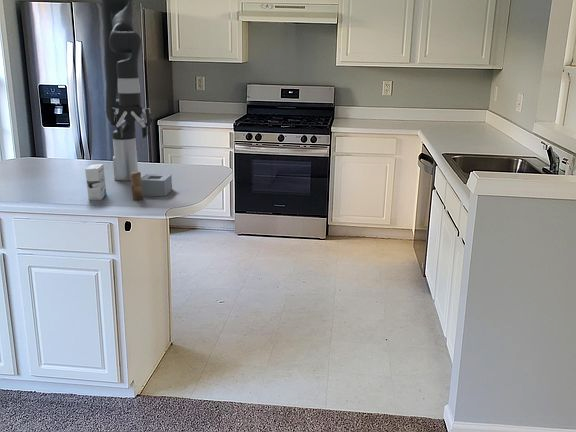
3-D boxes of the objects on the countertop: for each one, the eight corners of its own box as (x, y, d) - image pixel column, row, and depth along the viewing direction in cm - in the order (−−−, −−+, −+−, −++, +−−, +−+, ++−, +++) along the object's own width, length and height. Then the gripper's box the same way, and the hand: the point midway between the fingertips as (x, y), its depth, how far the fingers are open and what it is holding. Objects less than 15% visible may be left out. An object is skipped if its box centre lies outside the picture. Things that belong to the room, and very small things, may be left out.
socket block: (139, 195, 214) (138, 180, 212) (147, 188, 223) (146, 174, 221) (165, 196, 213) (164, 180, 211) (172, 189, 222) (171, 174, 221)
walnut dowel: (131, 200, 207) (129, 173, 204) (134, 197, 211) (132, 171, 208) (140, 200, 207) (138, 174, 204) (143, 198, 210) (141, 171, 207)
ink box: (93, 194, 216) (90, 163, 212) (106, 193, 216) (103, 163, 212) (87, 200, 207) (84, 168, 204) (101, 199, 208) (98, 168, 204)
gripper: (105, 92, 194) (109, 139, 199) (145, 92, 193) (149, 139, 198) (113, 90, 201) (117, 135, 206) (152, 90, 200) (155, 136, 205)
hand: (132, 137), depth 202 cm, fingers open, 8 cm apart
